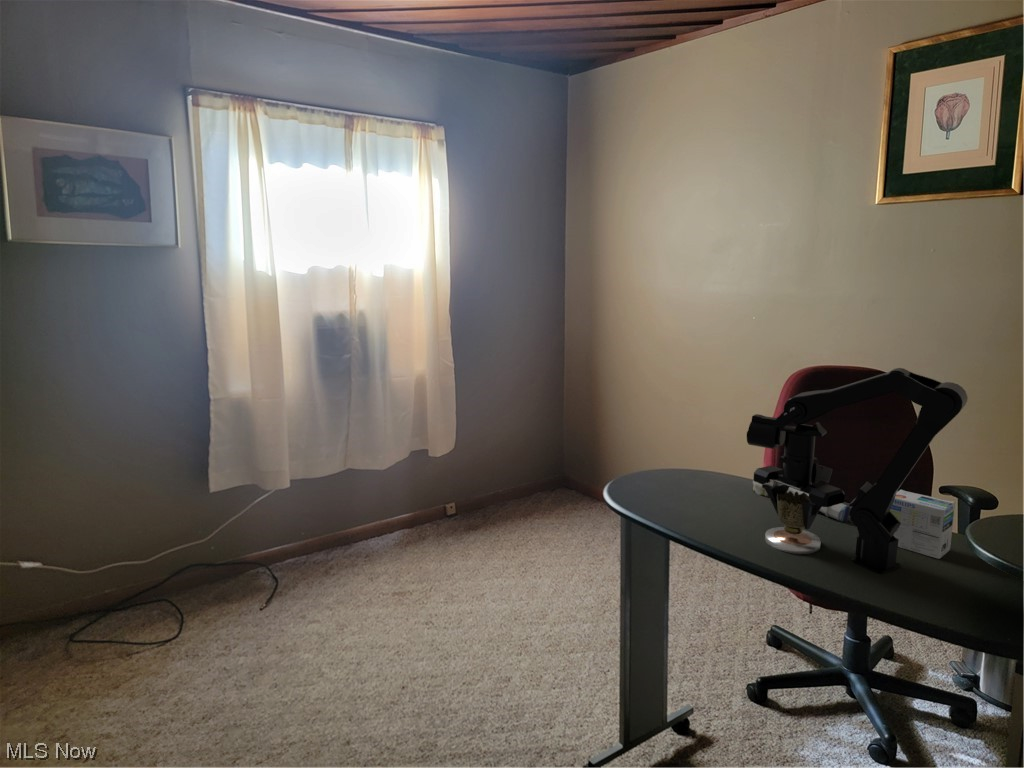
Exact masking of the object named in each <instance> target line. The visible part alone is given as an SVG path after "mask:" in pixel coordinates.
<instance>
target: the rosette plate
mask: <svg viewBox="0 0 1024 768" xmlns="http://www.w3.org/2000/svg"><path fill="white" fill-rule="evenodd" d="M764 541H765V543H766V544H767V545H769V546H770V547H772V548H773V549H775V550H778V551H781V552H783V553H784V552H785V553H789V554H795V555H807V554H814V553H816V552H818V551H820V550H821V538H820V537H819V536H818V535H817V534H814V533H813V532H810V531H809V530H807V529H803V531H802V532H801V533H800V534H790V533H787V532H786V531H785V529H784V526H777V527H772V528H769V529H767V530H766V531H765V534H764Z"/></svg>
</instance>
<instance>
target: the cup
mask: <svg viewBox="0 0 1024 768" xmlns="http://www.w3.org/2000/svg"><path fill="white" fill-rule="evenodd" d="M807 499H809V496H808V495H807V494H805V493H802V494H800V495H799V494H798V492H795V494H793V493H792V492H791V491H789V492H788V493H787V491H786V492H785V493H784V494H782V493H780V495H779V494H778V493H777V508H778V515H777V517H778V516H779V517H778V519H779V521H780V522H781V523H782V524H783V525H784V526H783V527H784V529H785V531H786V532H787V533H790V534H800V533H801V532H802V531H803V530H804V529H803V528H805V526H804V520H803V508H802V501H803V500H807Z"/></svg>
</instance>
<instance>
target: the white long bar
mask: <svg viewBox="0 0 1024 768" xmlns="http://www.w3.org/2000/svg"><path fill="white" fill-rule="evenodd" d="M752 484H753V487H752V491H754V492H755V494H757V495H758V496H766V497H769V496H768V494H767V492H766V490H765V489H764V488H762V485H764V484H760V483H758V482H755V481H753V480H752ZM789 491H791V492H792V493H793V494H795V492H798V494H799V495H800V494H802V493H805V492H802V491H799V490H797V489H794V488H791V487H789V489H788V491H787V493H788V492H789ZM805 494H807V495H808V496H809V494H808V493H805ZM850 510H851V506H849V505H846V504H844V503H840V504H837V505H833V506H830V507H821V509H820V510H819V512H821V513H823V515H825V516H826V517H830V518H832V519H834V520H837V521H839V522H841V523H842V522H844V521H847V520H849V517H850V516H849V513H850ZM846 519H847V520H846Z"/></svg>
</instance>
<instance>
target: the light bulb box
mask: <svg viewBox="0 0 1024 768" xmlns="http://www.w3.org/2000/svg"><path fill="white" fill-rule="evenodd" d="M955 507H956V502H955V501H952V500H948V499H947V500H946V499H943V498H937V497H933V496H930V495H925V494H920V493H915V492H911V491H906V490H904V489H898V490H897V493H896V496H895V499H894V502H893V504H892V507H891V509H890V511H891V513H892V514H893V515H894V516H895V517H896V518H897V519H898V520H899V522H900V523H901V524H900V526H899V528H898V529H897V531H896V532H895V533H894V535H893V536H894V537H895V538H897V539H899V540H898V548H900V549H904V550H907V551H911V552H915V553H918V554H921V555H924V556H928V557H932V558H935V559H937V560H938V559H939V560H941V558H942V557H944V556H945V555H946V554H947V553H948V552H949V551H950V550H951V543H952V536H953V535H952V534H953V526H954V516H955V510H956V509H955Z"/></svg>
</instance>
